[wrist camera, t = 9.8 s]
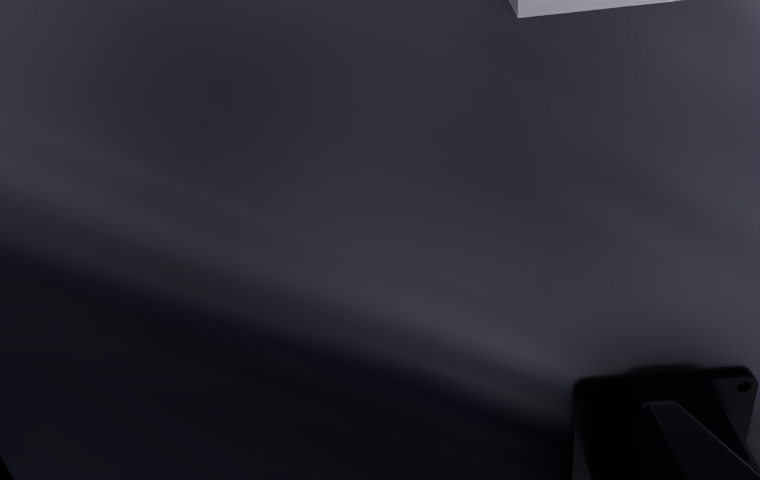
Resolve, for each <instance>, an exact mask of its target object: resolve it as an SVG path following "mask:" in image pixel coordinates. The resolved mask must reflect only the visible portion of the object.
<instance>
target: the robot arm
mask: <svg viewBox="0 0 760 480" xmlns="http://www.w3.org/2000/svg"><path fill="white" fill-rule="evenodd" d="M742 382H744V383H742ZM740 383H742V384H740ZM757 389H758V382H757V380H756V378H755V377H754V375H753V374H752V372H751V371H749V370H746V369H737V370H723V371H710V372H696V373H682V374H669V375H655V376H641V377H627V378H614V379H600V380H587V381H583V382H581V383H579V384H577V385H576V387H575V388H574V392H573V415H572V438H571V461H570V480H760V468H759V466H758V464H757V462H756V461H755V459H754V457H753V455H752V453H751V451H750V449H749V447H748V446H747V444H746V442H745V441H746V437H747V432H748V428H749V424H750V419H751V415H752V411H753V406H754V402H755V398H756V393H757ZM588 393H592V394H590V395H585V394H588ZM0 480H14V479H13V477H12V475H11V474H10V472H9V470H8V468H7V467H6V465H5V463H4V461H3V460H2V458H1V456H0Z"/></svg>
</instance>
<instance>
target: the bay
mask: <svg viewBox="0 0 760 480" xmlns="http://www.w3.org/2000/svg"><path fill="white" fill-rule="evenodd" d="M672 1H681V0H509V2H510V4H511V6H512V8H513V10H514V11H515V13H516V15H517V17H518V18H524V17H533V16H542V15H551V14H561V13H570V12H579V11H588V10H598V9H607V8H616V7H625V6H635V5H644V4H653V3H662V2H672Z"/></svg>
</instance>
